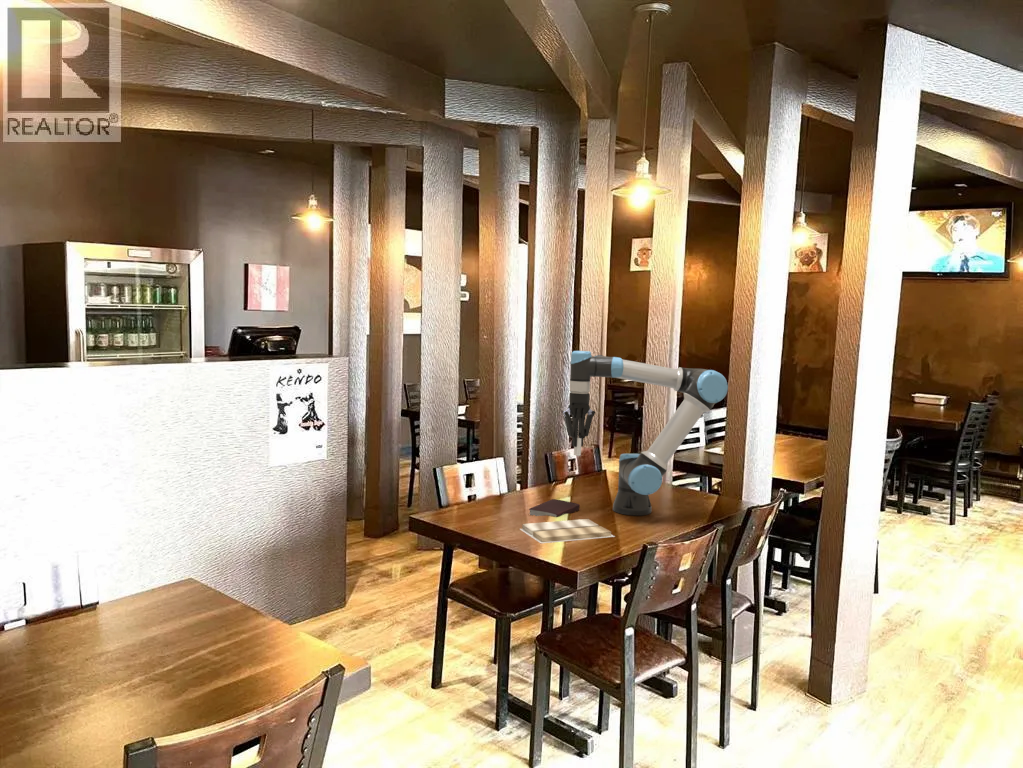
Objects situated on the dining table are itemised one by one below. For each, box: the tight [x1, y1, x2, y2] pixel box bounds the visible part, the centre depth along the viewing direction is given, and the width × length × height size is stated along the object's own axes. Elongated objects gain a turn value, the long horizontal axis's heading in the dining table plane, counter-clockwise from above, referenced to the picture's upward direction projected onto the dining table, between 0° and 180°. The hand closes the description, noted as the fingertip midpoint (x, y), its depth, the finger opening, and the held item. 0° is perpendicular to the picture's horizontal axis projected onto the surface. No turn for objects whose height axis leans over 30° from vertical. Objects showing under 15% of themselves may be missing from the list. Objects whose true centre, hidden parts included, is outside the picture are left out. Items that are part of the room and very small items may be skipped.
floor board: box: [519, 528, 616, 544], centre depth 261 cm, size 28×18×1 cm, turn 112°
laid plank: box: [533, 525, 612, 542], centre depth 257 cm, size 26×8×2 cm, turn 112°
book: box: [528, 498, 581, 518], centre depth 293 cm, size 12×19×3 cm, turn 148°
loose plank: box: [521, 518, 600, 535], centre depth 265 cm, size 26×8×2 cm, turn 112°
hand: (577, 455), depth 281 cm, fingers closed
